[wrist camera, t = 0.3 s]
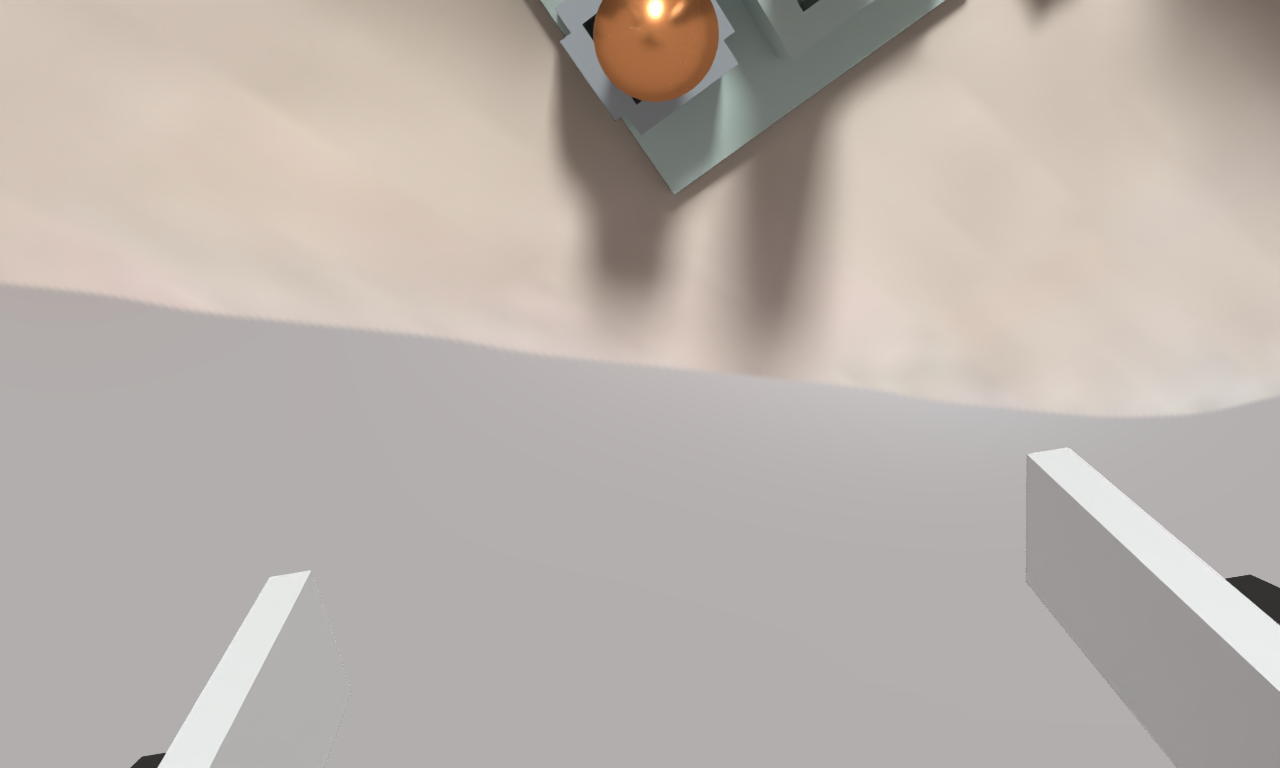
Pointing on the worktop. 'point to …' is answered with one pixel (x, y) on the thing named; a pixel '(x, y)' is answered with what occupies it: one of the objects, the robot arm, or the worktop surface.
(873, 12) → the socket block
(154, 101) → the worktop surface
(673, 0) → the release plunger
